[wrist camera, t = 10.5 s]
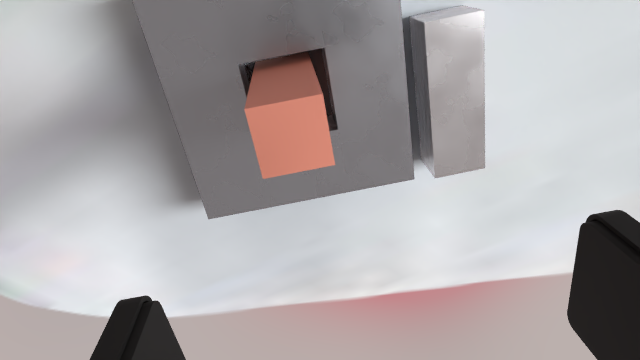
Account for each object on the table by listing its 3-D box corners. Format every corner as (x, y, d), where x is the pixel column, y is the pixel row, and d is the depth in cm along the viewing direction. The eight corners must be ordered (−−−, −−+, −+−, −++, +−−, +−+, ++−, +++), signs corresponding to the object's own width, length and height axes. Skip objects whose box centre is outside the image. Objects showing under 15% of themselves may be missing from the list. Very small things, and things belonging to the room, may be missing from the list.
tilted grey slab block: (408, 16, 27) (424, 22, 24) (460, 5, 27) (484, 10, 24) (420, 157, 31) (435, 178, 28) (465, 148, 31) (484, 168, 28)
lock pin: (255, 61, 27) (244, 109, 18) (307, 51, 27) (322, 93, 18) (267, 112, 28) (263, 179, 19) (317, 102, 28) (335, 164, 19)
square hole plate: (145, -9, 24) (129, -7, 22) (383, -56, 24) (396, -58, 22) (214, 197, 31) (208, 219, 28) (402, 160, 31) (414, 179, 28)
